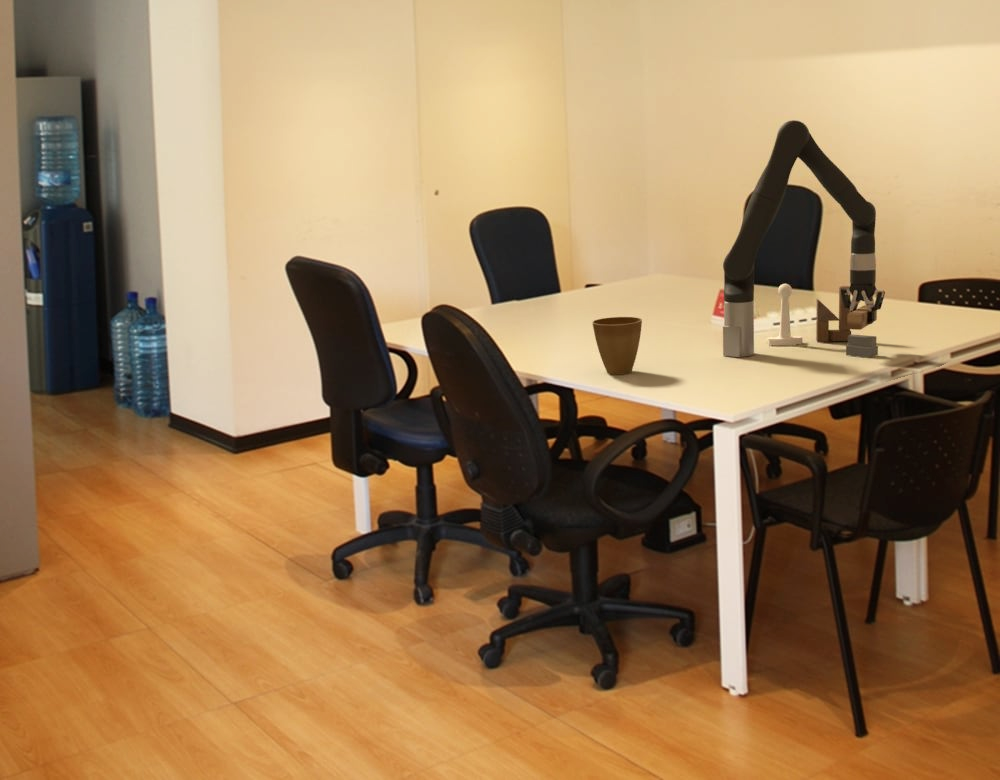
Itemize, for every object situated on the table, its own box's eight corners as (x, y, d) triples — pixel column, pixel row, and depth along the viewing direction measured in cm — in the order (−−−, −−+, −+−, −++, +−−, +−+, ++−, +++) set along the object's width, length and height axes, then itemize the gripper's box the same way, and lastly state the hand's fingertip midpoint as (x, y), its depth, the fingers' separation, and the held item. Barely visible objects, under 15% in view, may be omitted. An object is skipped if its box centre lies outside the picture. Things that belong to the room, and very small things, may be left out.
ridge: (869, 357, 381) (870, 338, 380) (846, 355, 386) (846, 336, 385) (877, 355, 384) (878, 336, 383) (854, 352, 390) (854, 333, 388)
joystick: (770, 346, 407) (769, 285, 402) (764, 342, 414) (763, 282, 410) (803, 344, 407) (803, 283, 403) (797, 340, 414) (797, 280, 410)
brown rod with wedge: (816, 340, 412) (816, 286, 408) (849, 340, 411) (850, 285, 407) (817, 342, 409) (817, 288, 405) (851, 342, 407) (851, 287, 403)
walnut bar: (860, 329, 375) (860, 314, 374) (847, 329, 377) (847, 314, 376) (876, 319, 390) (876, 305, 389) (863, 319, 392) (863, 305, 391)
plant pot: (639, 366, 386) (637, 315, 382) (646, 375, 371) (645, 322, 368) (591, 368, 385) (589, 317, 382) (596, 378, 371) (595, 325, 367)
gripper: (835, 268, 382) (835, 323, 385) (878, 270, 372) (878, 326, 376) (847, 265, 387) (847, 319, 391) (890, 267, 377) (889, 323, 381)
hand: (862, 322), depth 383 cm, fingers closed on walnut bar, 4 cm apart
